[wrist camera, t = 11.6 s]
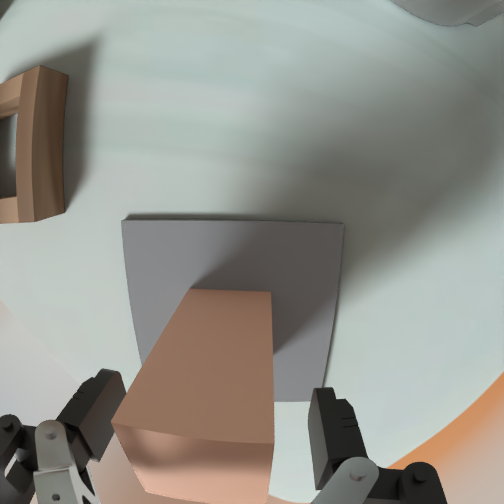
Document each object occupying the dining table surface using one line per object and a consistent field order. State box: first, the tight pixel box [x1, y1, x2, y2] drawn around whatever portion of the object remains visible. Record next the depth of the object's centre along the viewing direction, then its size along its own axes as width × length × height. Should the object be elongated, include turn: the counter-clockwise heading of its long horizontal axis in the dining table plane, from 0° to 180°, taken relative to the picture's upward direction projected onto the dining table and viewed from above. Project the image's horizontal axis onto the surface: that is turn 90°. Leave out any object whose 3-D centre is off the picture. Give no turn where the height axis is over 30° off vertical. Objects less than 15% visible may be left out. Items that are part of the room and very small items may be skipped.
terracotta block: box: [111, 288, 274, 504], centre depth 12 cm, size 4×4×10 cm
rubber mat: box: [121, 219, 344, 402], centre depth 17 cm, size 12×12×1 cm
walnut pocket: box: [0, 65, 68, 224], centre depth 13 cm, size 9×9×3 cm
